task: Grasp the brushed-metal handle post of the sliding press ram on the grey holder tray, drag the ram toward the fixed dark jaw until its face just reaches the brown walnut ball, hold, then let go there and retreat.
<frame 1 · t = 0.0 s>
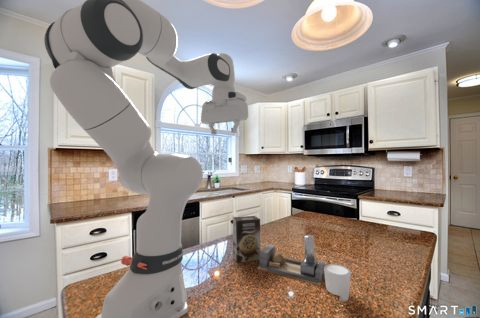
hand: (223, 133, 85), 48 cm above the countertop, fingers open, 8 cm apart
grey holder tray: (291, 273, 72), on the countertop
walnut: (278, 265, 75), point 1 cm above the countertop, touching grey holder tray
ram: (309, 254, 70), point 7 cm above the countertop, slide at 0.0 cm
coffee box: (246, 262, 81), on the countertop
shot glass: (337, 295, 61), on the countertop
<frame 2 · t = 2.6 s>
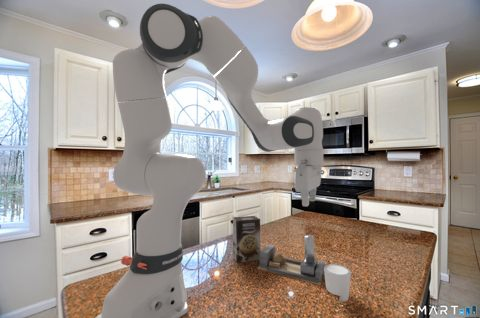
hand: (309, 203, 70), 24 cm above the countertop, fingers open, 8 cm apart
nothing on the countertop moved.
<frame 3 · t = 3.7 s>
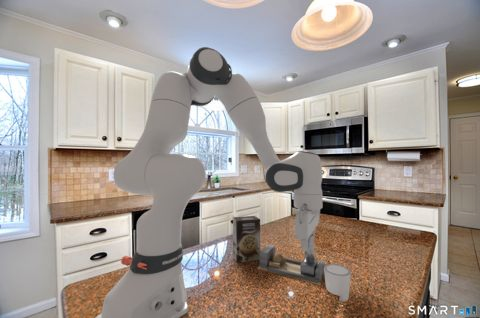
hand: (308, 244, 71), 10 cm above the countertop, fingers open, 8 cm apart
nothing on the countertop moved.
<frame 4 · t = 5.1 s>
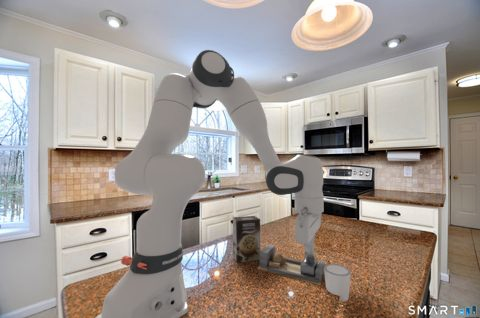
hand: (309, 248, 70), 9 cm above the countertop, fingers closed on ram, 3 cm apart
ram: (309, 254, 70), point 7 cm above the countertop, slide at 0.0 cm, touching gripper
everything else where it was.
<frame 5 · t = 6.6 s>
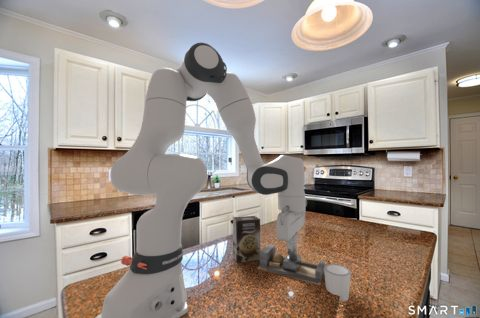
hand: (292, 245, 72), 9 cm above the countertop, fingers closed on ram, 3 cm apart
ram: (292, 251, 72), point 7 cm above the countertop, slide at 5.5 cm, touching gripper
everything else where it was.
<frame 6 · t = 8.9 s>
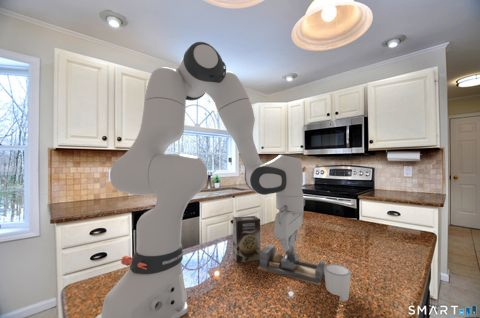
hand: (290, 245, 73), 9 cm above the countertop, fingers open, 8 cm apart
ram: (290, 250, 73), point 7 cm above the countertop, slide at 6.2 cm
everything else where it was.
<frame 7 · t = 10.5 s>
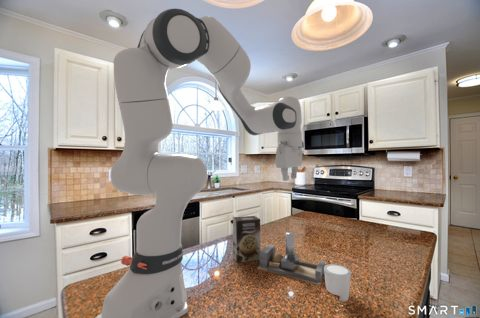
hand: (289, 179, 82), 30 cm above the countertop, fingers open, 8 cm apart
nothing on the countertop moved.
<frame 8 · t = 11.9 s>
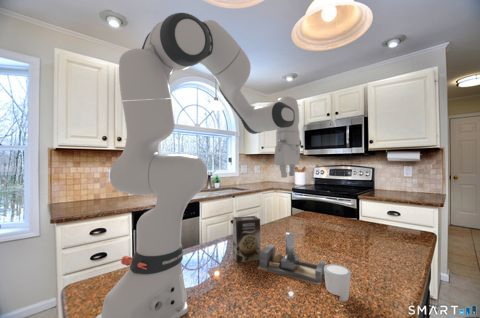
hand: (288, 176, 84), 31 cm above the countertop, fingers open, 8 cm apart
nothing on the countertop moved.
at the end: ram slide at 6.2 cm; walnut moved 0.0 cm from its start; the gripper is holding nothing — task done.
